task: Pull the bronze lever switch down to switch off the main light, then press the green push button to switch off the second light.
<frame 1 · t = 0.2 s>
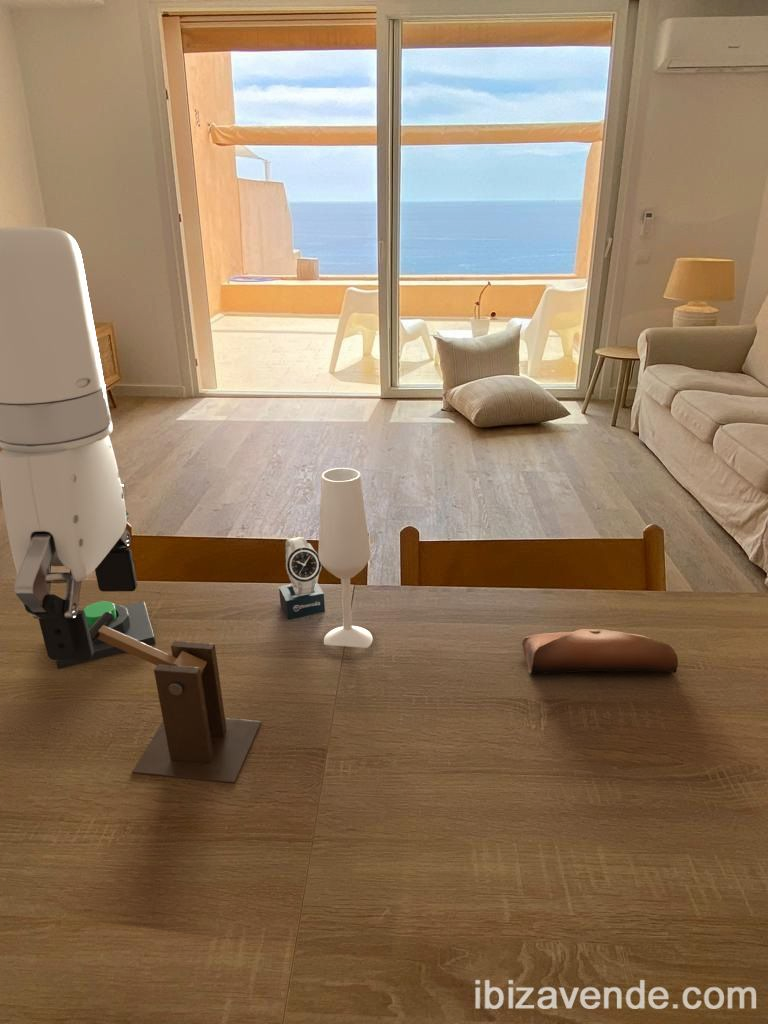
hand: (97, 621, 56), 24 cm above the table, tool pointing down, fingers open, 9 cm apart
lever: (145, 652, 70), point 13 cm above the table, hinge at 25.0°
watch: (303, 609, 102), on the table
switch bracket: (200, 753, 75), on the table
button box: (105, 642, 94), on the table
sunglasses case: (594, 660, 89), on the table
light button: (99, 614, 92), point 4 cm above the table, slide at 0.1 cm
champagne flute: (348, 640, 94), on the table
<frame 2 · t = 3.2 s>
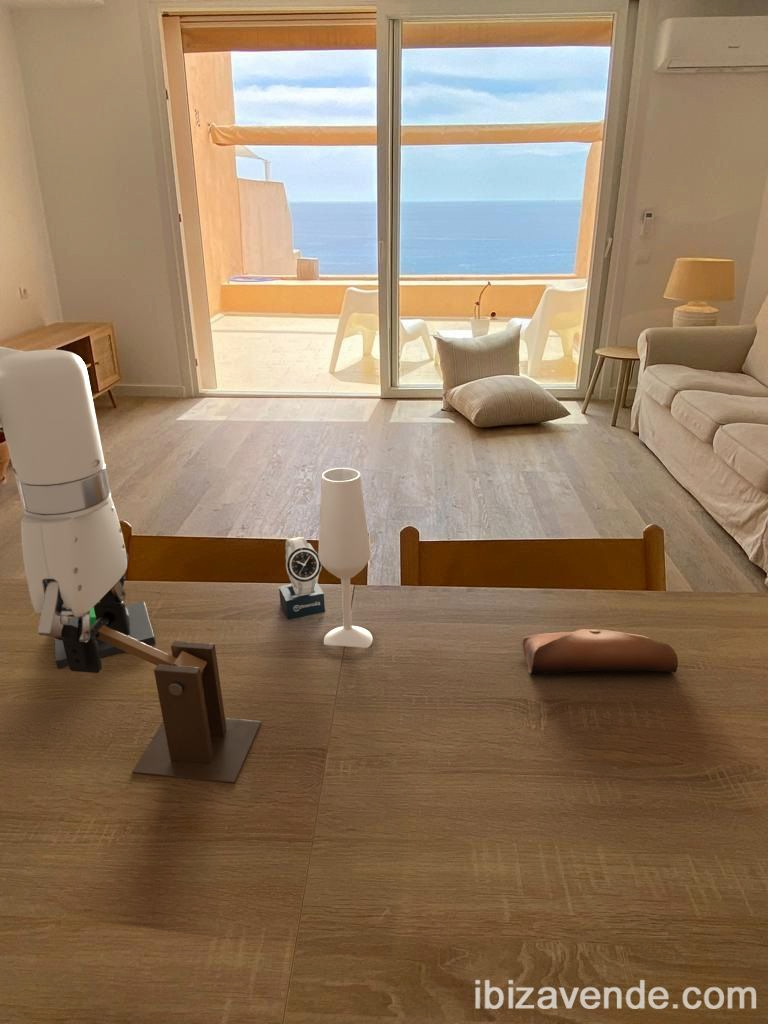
hand: (101, 651, 71), 13 cm above the table, tool pointing down, fingers closed on lever, 5 cm apart
lever: (145, 652, 70), point 13 cm above the table, hinge at 25.0°, touching gripper
everything else where it was.
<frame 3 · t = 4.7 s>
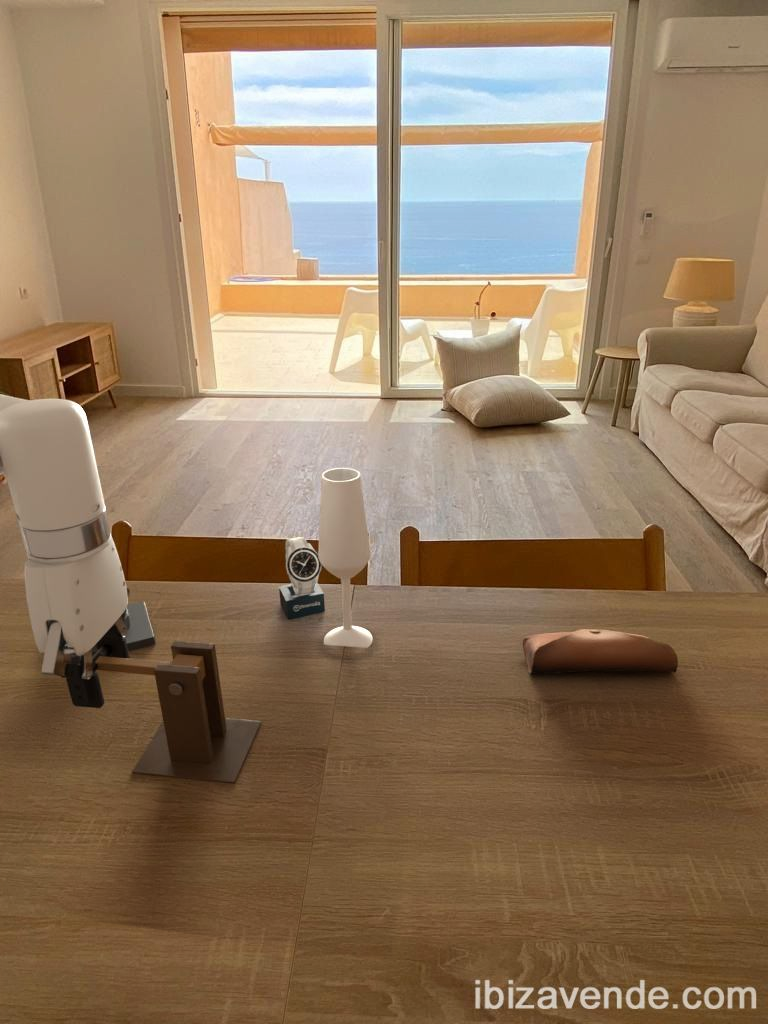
hand: (103, 685, 73), 8 cm above the table, tool pointing down, fingers closed on lever, 5 cm apart
lever: (144, 667, 71), point 11 cm above the table, hinge at 0.7°, touching gripper
everything else where it was.
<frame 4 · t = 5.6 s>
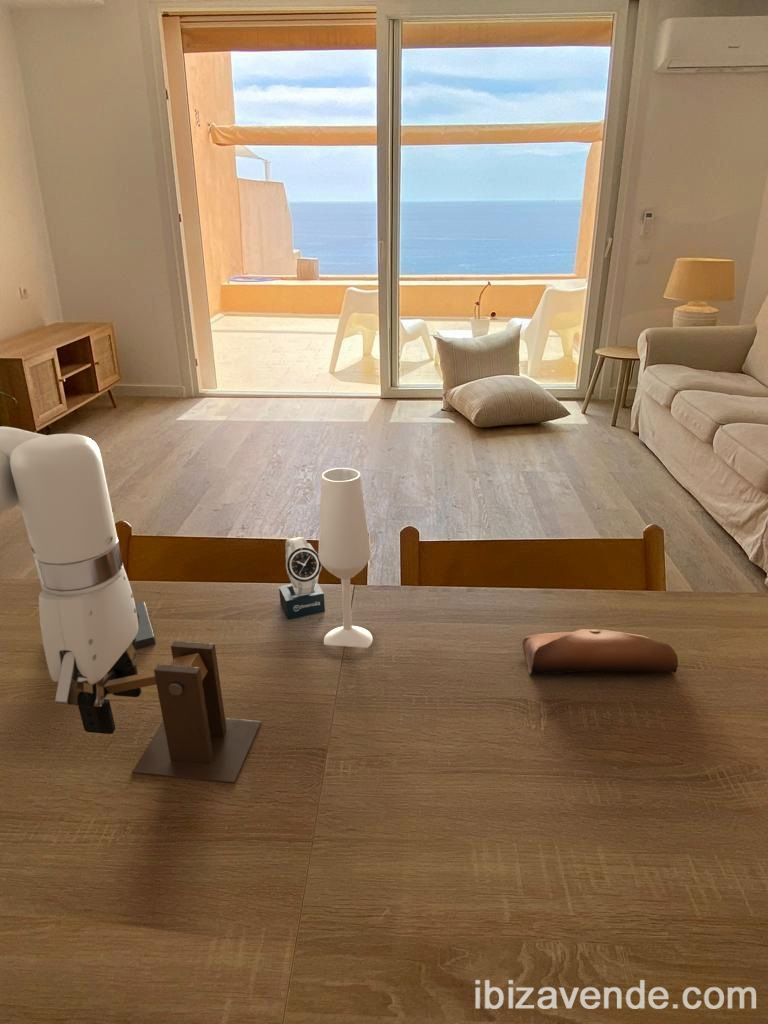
hand: (114, 710, 74), 5 cm above the table, tool pointing down, fingers closed on lever, 5 cm apart
lever: (148, 679, 72), point 10 cm above the table, hinge at -17.8°, touching gripper
everything else where it was.
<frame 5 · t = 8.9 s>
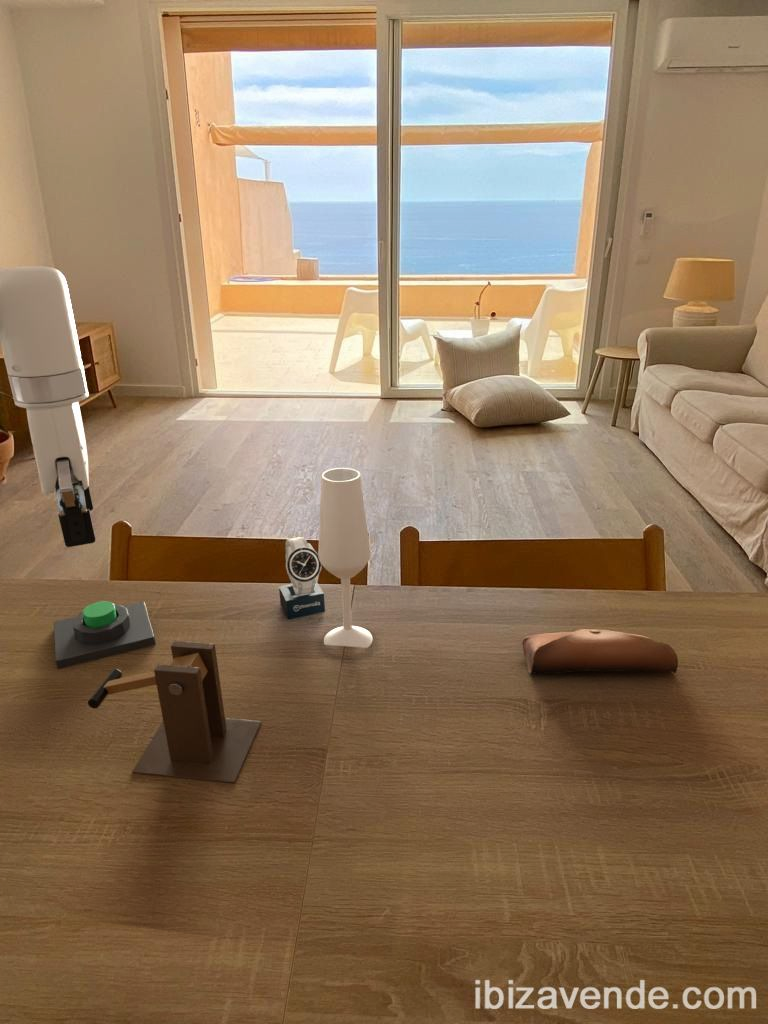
hand: (80, 527, 83), 19 cm above the table, tool pointing down, fingers open, 9 cm apart
lever: (148, 679, 72), point 10 cm above the table, hinge at -18.1°
everything else where it was.
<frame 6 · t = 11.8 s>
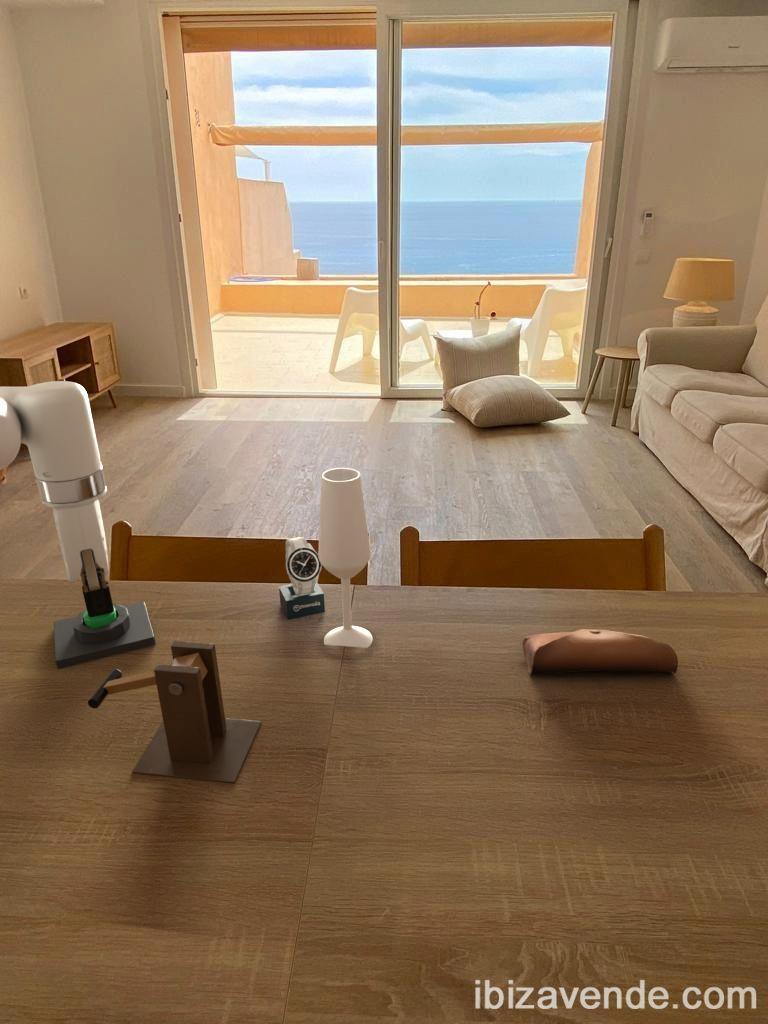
hand: (101, 611, 92), 5 cm above the table, tool pointing down, fingers closed
light button: (100, 618, 93), point 4 cm above the table, slide at -0.5 cm, touching gripper
everything else where it was.
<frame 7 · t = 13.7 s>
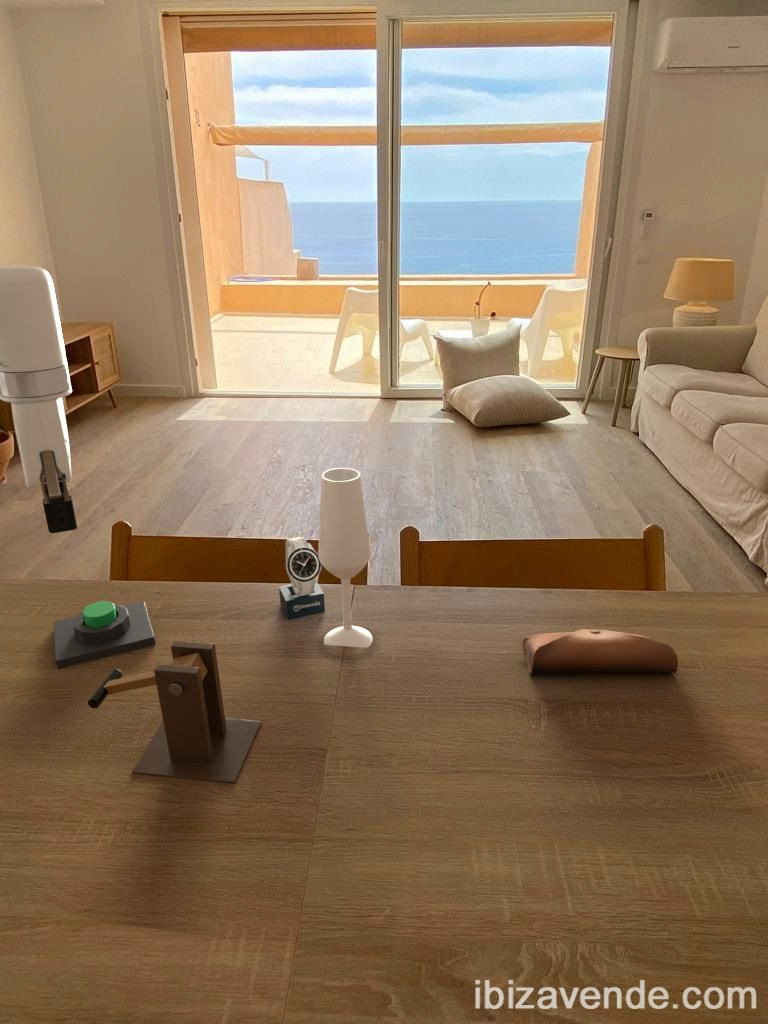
hand: (63, 528, 86), 18 cm above the table, tool pointing down, fingers closed
light button: (99, 614, 92), point 4 cm above the table, slide at 0.1 cm
everything else where it was.
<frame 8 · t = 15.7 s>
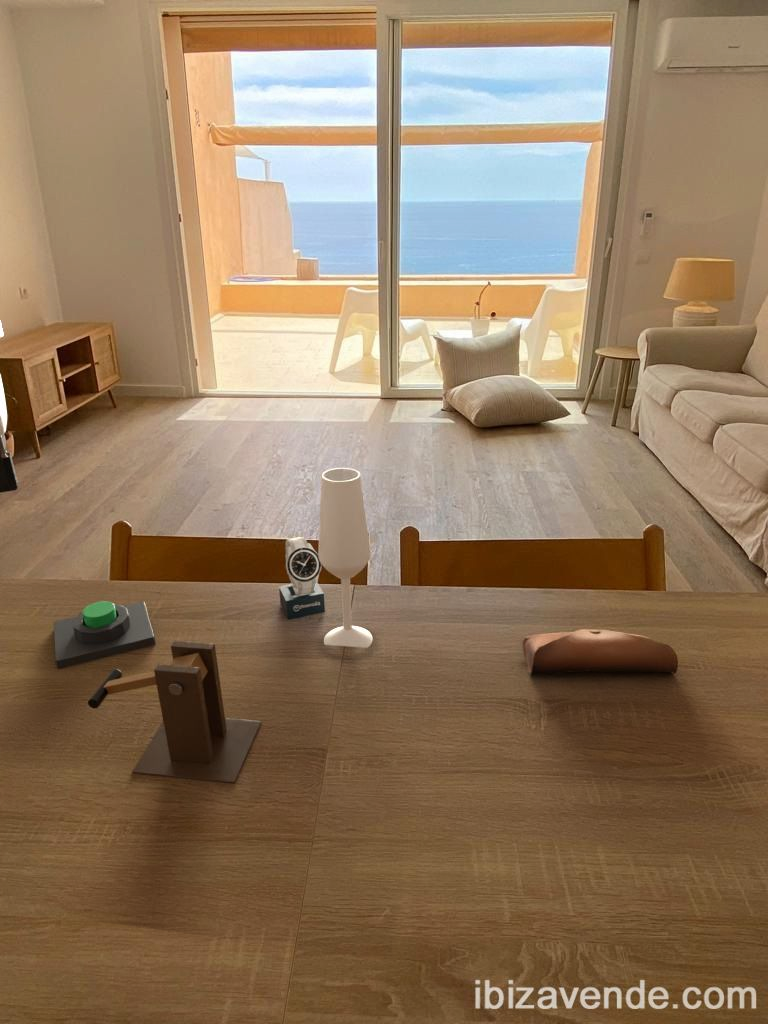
hand: (2, 489, 79), 25 cm above the table, tool pointing down, fingers closed
nothing on the table moved.
at the end: lever at -18° (first picture: +25°); light button pushed in 1.1 cm at the most during the clip, back to where it started at the end; light button slide at 0.1 cm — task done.
